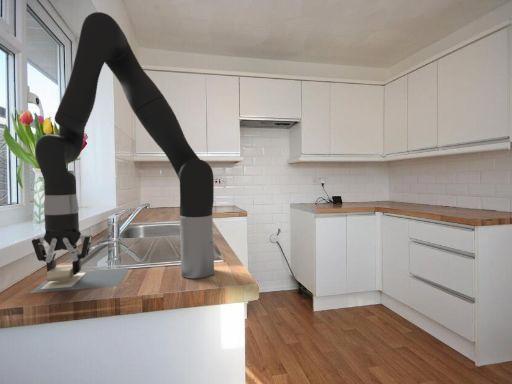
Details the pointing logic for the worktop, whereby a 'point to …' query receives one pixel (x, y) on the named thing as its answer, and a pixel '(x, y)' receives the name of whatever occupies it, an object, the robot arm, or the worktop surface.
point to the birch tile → (60, 272)
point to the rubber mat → (85, 280)
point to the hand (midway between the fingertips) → (64, 274)
